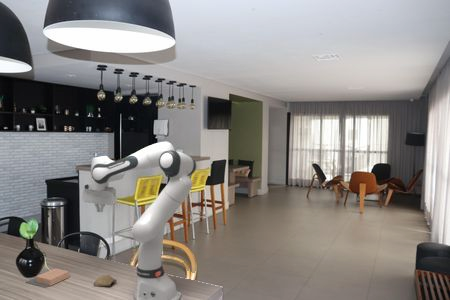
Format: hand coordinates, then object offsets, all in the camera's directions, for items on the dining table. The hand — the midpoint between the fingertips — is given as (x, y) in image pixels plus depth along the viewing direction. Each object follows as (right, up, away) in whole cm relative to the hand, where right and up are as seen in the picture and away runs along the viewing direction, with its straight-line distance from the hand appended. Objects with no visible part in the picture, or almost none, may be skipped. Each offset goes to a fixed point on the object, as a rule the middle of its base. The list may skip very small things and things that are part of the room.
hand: (99, 211), depth 191 cm
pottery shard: (+1, -35, -5) cm, 35 cm away
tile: (-18, -33, -6) cm, 38 cm away
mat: (-26, -35, -3) cm, 43 cm away
